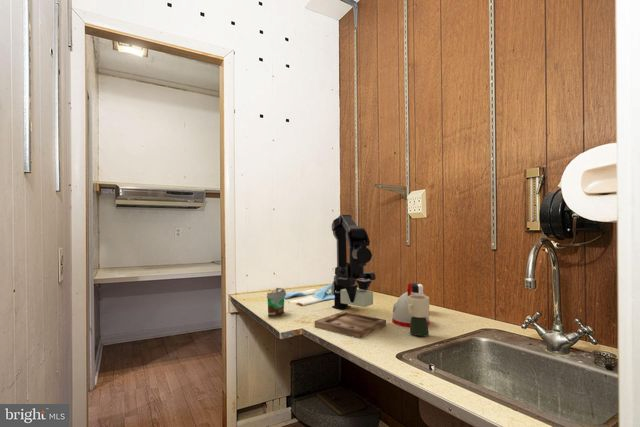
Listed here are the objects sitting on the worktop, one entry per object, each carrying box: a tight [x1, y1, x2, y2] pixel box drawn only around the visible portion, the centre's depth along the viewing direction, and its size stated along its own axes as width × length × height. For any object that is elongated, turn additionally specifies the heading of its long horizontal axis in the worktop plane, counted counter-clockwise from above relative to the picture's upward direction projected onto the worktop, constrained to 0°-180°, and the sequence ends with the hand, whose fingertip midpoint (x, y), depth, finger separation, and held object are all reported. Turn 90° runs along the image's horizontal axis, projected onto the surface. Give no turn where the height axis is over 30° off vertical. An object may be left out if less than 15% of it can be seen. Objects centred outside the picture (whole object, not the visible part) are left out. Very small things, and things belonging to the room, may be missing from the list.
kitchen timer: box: [391, 282, 430, 329], centre depth 132 cm, size 14×14×15 cm
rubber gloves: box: [285, 284, 335, 307], centre depth 180 cm, size 27×33×6 cm
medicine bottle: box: [411, 283, 426, 296], centre depth 148 cm, size 7×7×12 cm
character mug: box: [408, 295, 430, 337], centre depth 117 cm, size 11×7×13 cm, turn 127°
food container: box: [266, 287, 287, 318], centre depth 146 cm, size 12×6×10 cm, turn 168°
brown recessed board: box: [314, 310, 387, 339], centre depth 128 cm, size 18×20×2 cm
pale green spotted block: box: [341, 288, 374, 308], centre depth 131 cm, size 6×11×5 cm, turn 49°
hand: (356, 300), depth 131 cm, fingers closed on pale green spotted block, 6 cm apart
